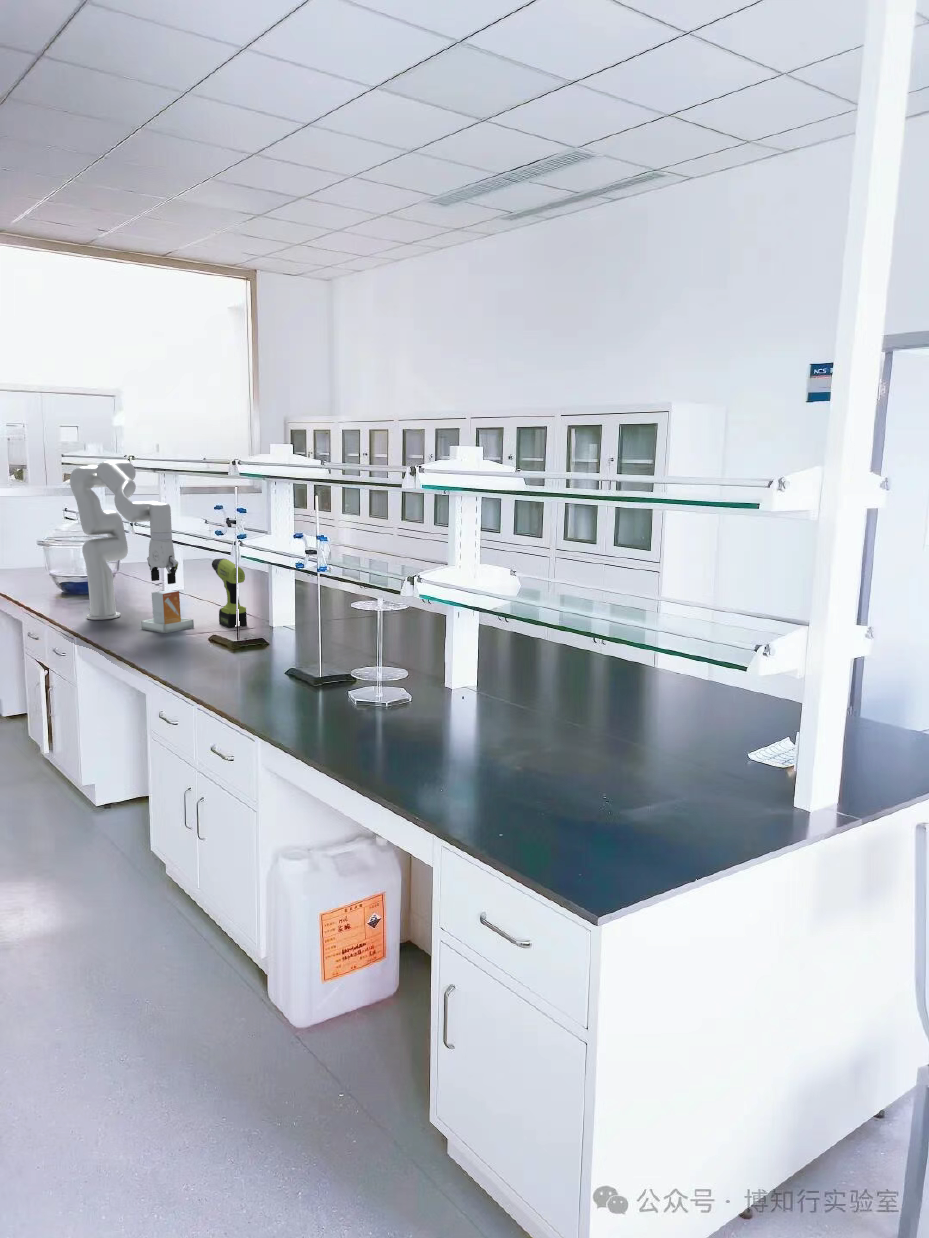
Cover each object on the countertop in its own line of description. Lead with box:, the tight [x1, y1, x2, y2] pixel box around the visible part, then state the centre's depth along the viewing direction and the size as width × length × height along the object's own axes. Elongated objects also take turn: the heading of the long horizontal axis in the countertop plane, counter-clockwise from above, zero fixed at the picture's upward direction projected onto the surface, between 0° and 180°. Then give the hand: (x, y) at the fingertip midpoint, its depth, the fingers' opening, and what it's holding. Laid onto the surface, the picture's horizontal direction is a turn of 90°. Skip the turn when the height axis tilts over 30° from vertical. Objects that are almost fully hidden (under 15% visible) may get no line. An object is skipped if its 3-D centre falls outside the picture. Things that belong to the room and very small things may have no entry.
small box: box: [151, 589, 182, 625], centre depth 343 cm, size 8×6×13 cm
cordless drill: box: [211, 558, 248, 629], centre depth 351 cm, size 23×7×25 cm, turn 37°
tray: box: [140, 617, 195, 634], centre depth 345 cm, size 14×13×3 cm
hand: (163, 582), depth 342 cm, fingers open, 9 cm apart
